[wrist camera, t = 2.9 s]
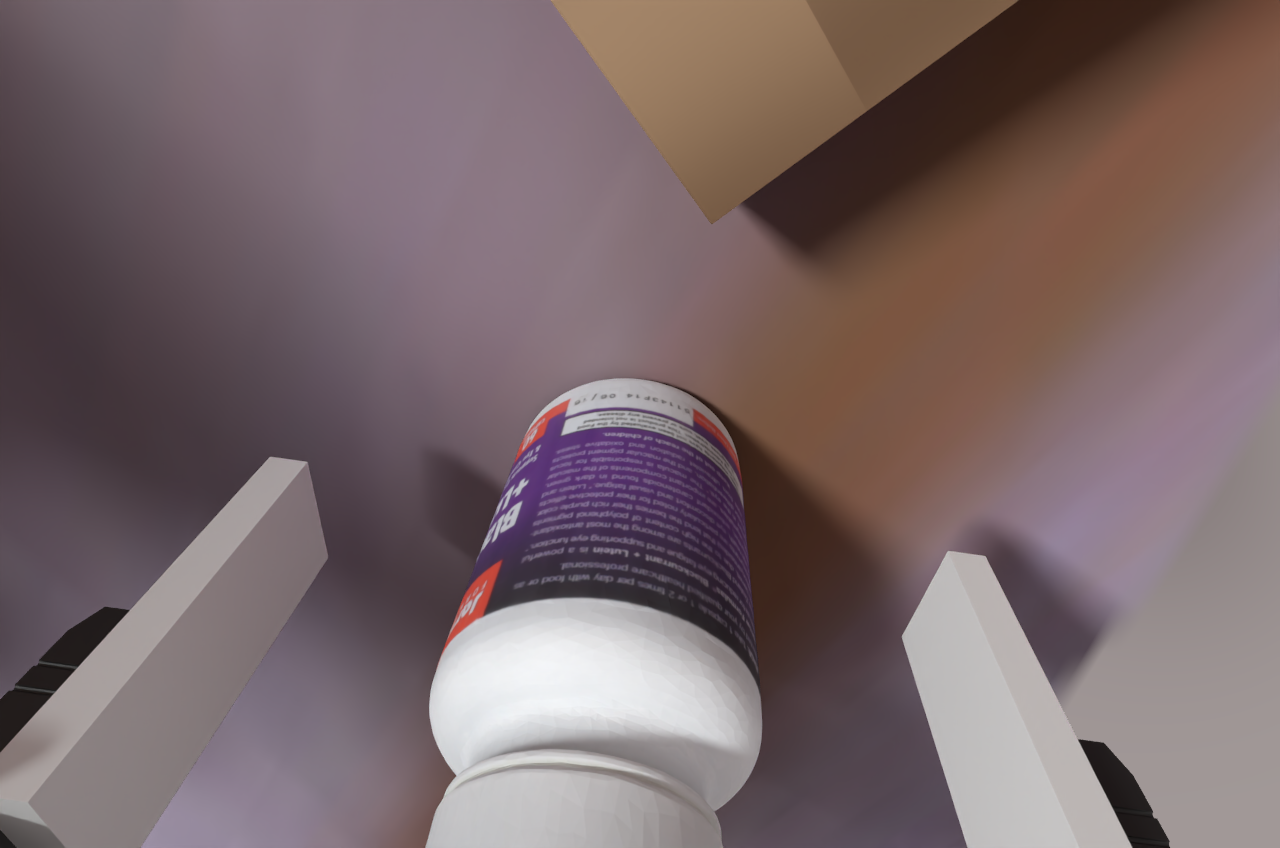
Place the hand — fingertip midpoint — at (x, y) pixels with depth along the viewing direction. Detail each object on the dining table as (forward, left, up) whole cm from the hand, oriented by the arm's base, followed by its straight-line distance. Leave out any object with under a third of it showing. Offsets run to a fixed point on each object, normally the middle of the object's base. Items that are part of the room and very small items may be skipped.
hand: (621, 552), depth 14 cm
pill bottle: (0, 0, -3) cm, 3 cm away
